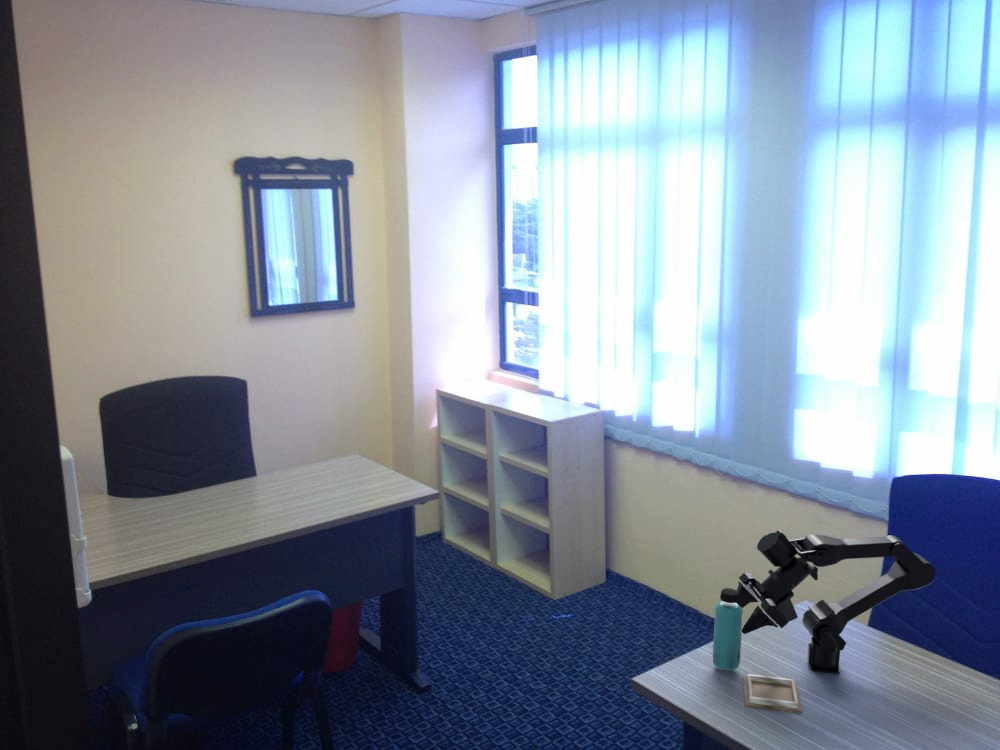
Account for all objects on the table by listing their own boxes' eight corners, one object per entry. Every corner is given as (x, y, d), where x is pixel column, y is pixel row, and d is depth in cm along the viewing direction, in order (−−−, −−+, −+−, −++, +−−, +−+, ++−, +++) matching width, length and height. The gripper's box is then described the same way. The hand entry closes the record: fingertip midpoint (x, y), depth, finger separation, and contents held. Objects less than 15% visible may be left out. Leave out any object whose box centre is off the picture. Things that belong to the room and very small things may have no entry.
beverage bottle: (740, 677, 211) (745, 598, 207) (711, 674, 212) (715, 595, 208) (739, 663, 217) (744, 586, 213) (710, 660, 218) (715, 583, 214)
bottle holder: (797, 684, 208) (797, 677, 208) (802, 713, 197) (802, 706, 196) (743, 677, 211) (743, 671, 210) (745, 706, 199) (745, 699, 199)
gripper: (824, 619, 203) (772, 665, 205) (792, 583, 221) (744, 626, 223) (793, 587, 201) (741, 634, 202) (763, 553, 219) (715, 597, 221)
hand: (736, 623), depth 212 cm, fingers open, 9 cm apart
